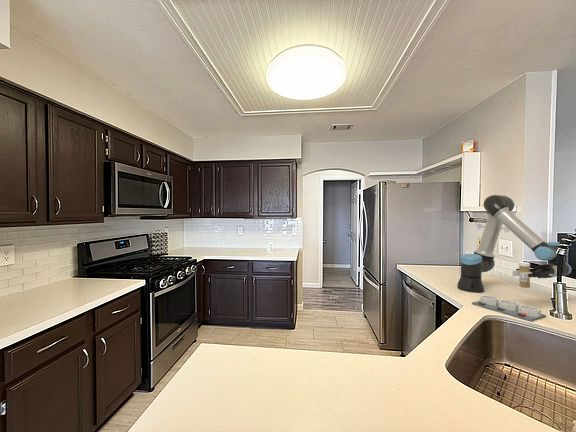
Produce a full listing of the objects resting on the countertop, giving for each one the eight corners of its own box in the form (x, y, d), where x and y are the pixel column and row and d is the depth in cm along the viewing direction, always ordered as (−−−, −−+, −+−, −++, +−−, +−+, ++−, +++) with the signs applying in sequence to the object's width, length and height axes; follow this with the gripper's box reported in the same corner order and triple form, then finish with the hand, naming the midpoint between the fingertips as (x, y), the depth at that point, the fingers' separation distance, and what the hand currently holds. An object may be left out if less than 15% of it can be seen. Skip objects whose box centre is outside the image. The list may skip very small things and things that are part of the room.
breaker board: (471, 304, 154) (471, 297, 154) (487, 300, 161) (487, 294, 161) (531, 321, 130) (531, 313, 130) (546, 317, 137) (546, 309, 137)
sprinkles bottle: (532, 287, 148) (532, 262, 148) (525, 288, 147) (525, 263, 147) (523, 285, 153) (523, 261, 152) (516, 286, 152) (516, 261, 151)
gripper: (566, 281, 147) (536, 285, 140) (529, 274, 163) (500, 277, 156) (566, 267, 147) (536, 271, 140) (529, 261, 163) (500, 264, 156)
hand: (517, 274), depth 148 cm, fingers closed on sprinkles bottle, 4 cm apart
